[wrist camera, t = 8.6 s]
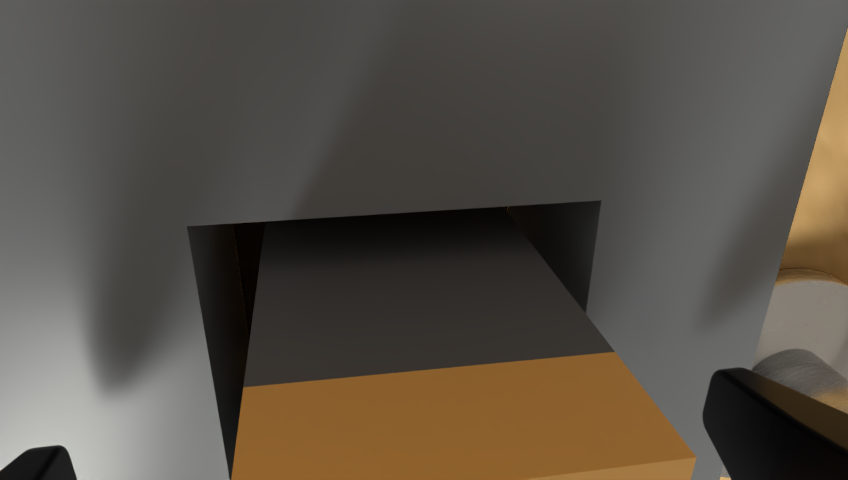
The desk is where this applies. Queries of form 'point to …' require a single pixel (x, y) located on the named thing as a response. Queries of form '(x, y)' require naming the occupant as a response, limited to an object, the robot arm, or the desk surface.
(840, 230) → the desk surface
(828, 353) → the post
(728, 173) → the frame
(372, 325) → the block
